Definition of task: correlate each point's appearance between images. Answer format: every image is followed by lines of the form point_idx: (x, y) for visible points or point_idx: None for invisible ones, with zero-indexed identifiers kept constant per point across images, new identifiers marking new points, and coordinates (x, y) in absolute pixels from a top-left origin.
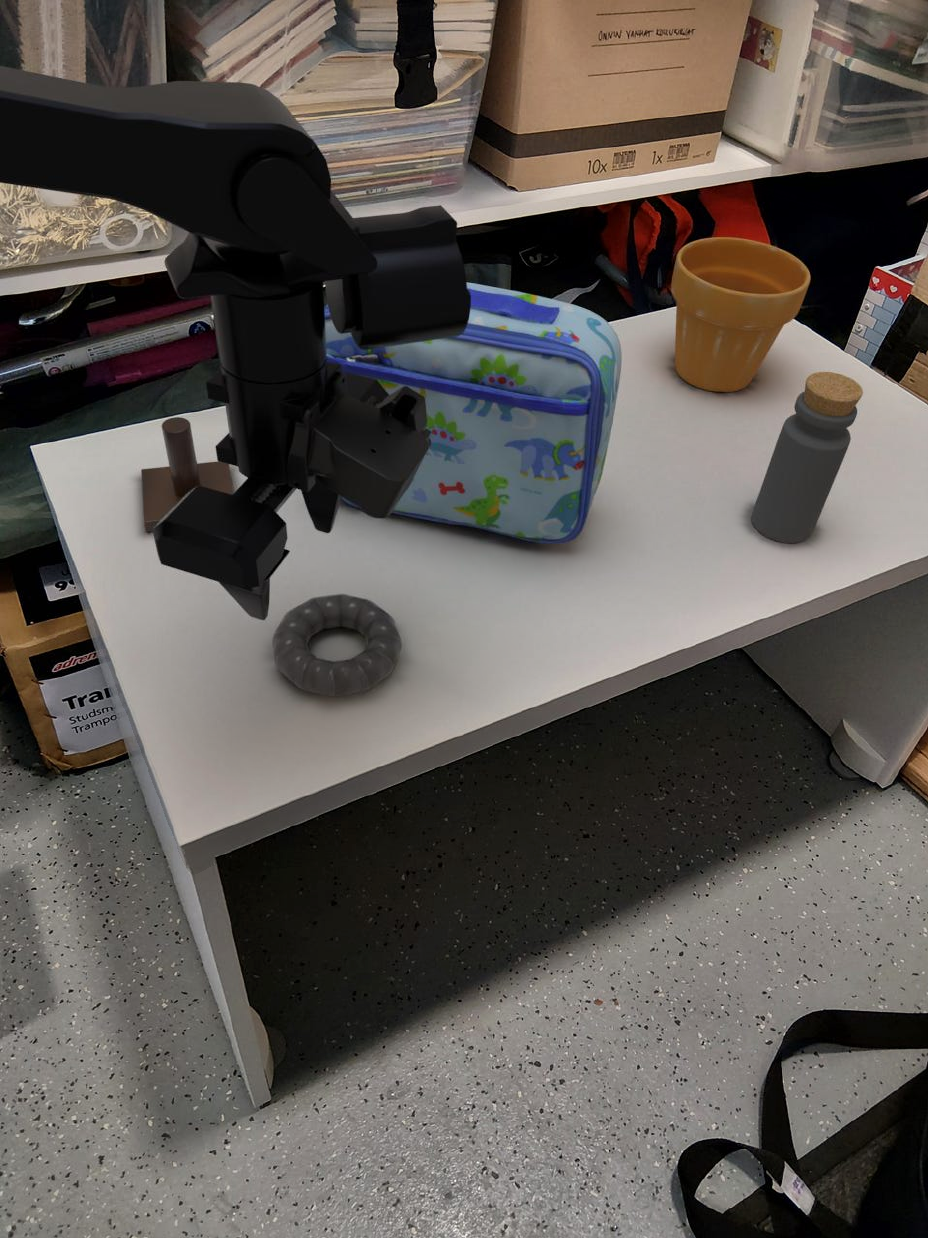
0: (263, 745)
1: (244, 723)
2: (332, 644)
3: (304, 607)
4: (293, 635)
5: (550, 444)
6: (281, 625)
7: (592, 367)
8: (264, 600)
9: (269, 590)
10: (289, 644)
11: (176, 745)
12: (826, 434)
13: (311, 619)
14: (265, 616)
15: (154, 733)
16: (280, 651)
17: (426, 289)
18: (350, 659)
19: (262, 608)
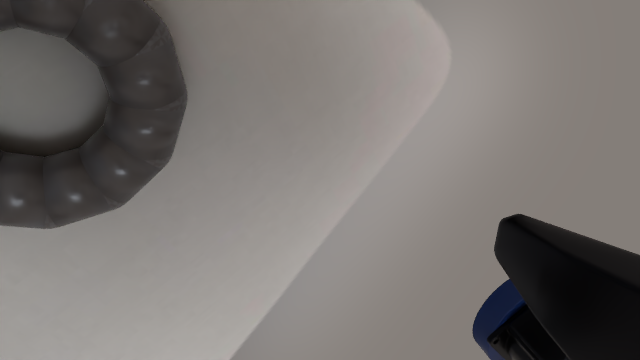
0: (304, 64)
1: (280, 118)
2: (16, 111)
3: (20, 213)
4: (109, 177)
5: None
6: (97, 212)
7: None
8: (633, 259)
9: (629, 280)
10: (136, 167)
11: (354, 165)
12: None
13: (31, 181)
14: (530, 219)
15: (348, 199)
16: (158, 168)
17: None
18: (78, 35)
19: (599, 242)
